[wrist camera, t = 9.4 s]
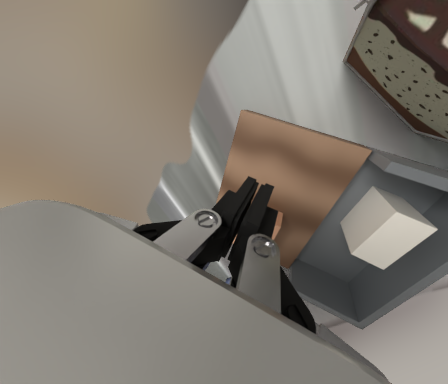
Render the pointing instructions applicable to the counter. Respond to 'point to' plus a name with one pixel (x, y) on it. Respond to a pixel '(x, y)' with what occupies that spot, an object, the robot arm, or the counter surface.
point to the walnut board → (292, 173)
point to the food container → (405, 60)
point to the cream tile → (384, 228)
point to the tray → (363, 271)
